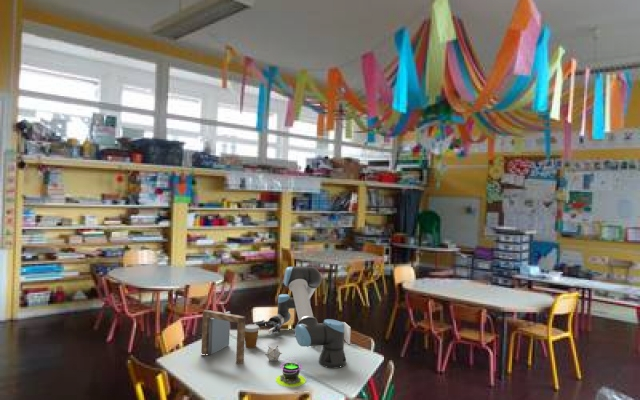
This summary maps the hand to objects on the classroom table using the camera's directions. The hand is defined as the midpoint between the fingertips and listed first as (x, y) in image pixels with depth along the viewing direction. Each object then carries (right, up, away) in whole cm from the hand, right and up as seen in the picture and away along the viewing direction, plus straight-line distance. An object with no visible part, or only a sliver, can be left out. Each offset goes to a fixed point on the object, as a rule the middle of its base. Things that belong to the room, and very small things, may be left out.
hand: (259, 330), depth 283 cm
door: (-22, -6, -18) cm, 29 cm away
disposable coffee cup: (-4, -7, -9) cm, 12 cm away
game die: (+11, -9, -30) cm, 33 cm away
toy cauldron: (+23, -10, -53) cm, 59 cm away
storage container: (+42, -9, +3) cm, 43 cm away
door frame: (-17, -7, -29) cm, 35 cm away
